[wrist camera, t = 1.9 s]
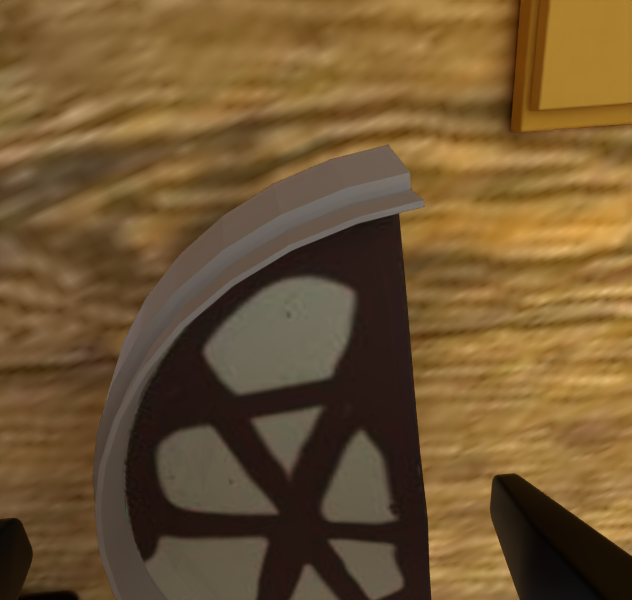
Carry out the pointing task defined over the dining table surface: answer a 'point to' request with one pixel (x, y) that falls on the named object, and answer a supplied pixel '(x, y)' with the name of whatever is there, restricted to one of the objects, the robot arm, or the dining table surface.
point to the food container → (272, 406)
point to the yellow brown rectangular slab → (573, 65)
